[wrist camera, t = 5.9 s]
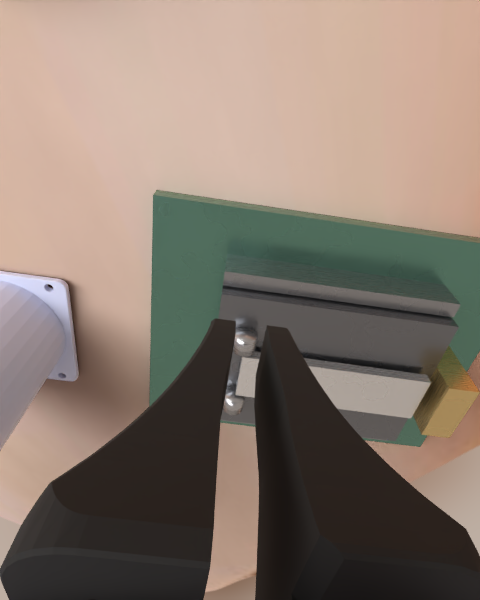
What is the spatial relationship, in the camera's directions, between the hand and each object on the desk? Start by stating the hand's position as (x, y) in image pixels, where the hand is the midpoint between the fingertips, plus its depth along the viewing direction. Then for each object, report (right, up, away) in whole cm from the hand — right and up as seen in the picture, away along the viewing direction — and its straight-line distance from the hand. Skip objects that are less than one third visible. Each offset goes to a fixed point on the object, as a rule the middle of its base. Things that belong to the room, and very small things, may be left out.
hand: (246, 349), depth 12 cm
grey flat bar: (+5, -3, +10) cm, 11 cm away
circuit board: (+4, -1, +13) cm, 13 cm away
